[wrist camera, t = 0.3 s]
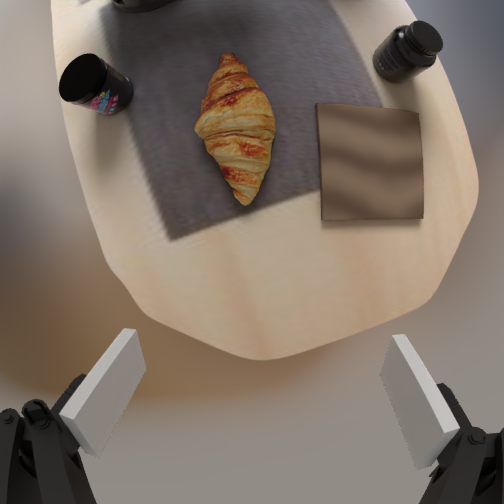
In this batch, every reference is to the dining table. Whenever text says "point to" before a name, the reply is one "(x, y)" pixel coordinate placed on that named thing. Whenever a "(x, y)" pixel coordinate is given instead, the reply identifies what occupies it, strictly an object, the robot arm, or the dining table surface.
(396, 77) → the supplement bottle
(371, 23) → the dining table surface
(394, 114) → the brown cloth napkin
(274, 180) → the dining table surface
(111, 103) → the supplement container
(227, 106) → the croissant
